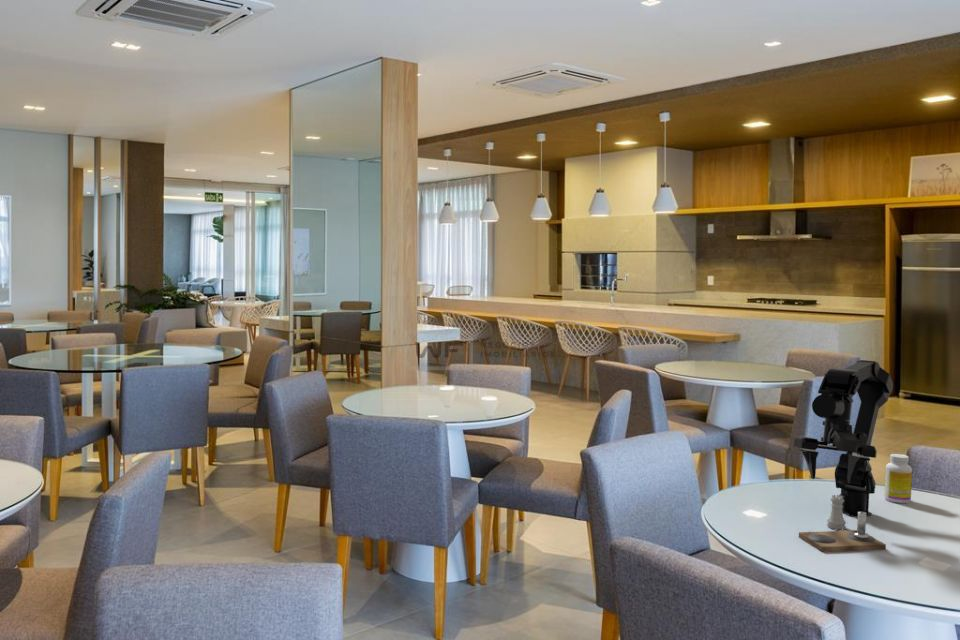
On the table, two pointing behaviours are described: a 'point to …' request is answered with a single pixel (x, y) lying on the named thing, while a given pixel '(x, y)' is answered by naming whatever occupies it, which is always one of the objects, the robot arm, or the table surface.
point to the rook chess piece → (836, 514)
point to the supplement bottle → (898, 479)
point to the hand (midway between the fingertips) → (831, 481)
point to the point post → (861, 526)
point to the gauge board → (840, 541)
